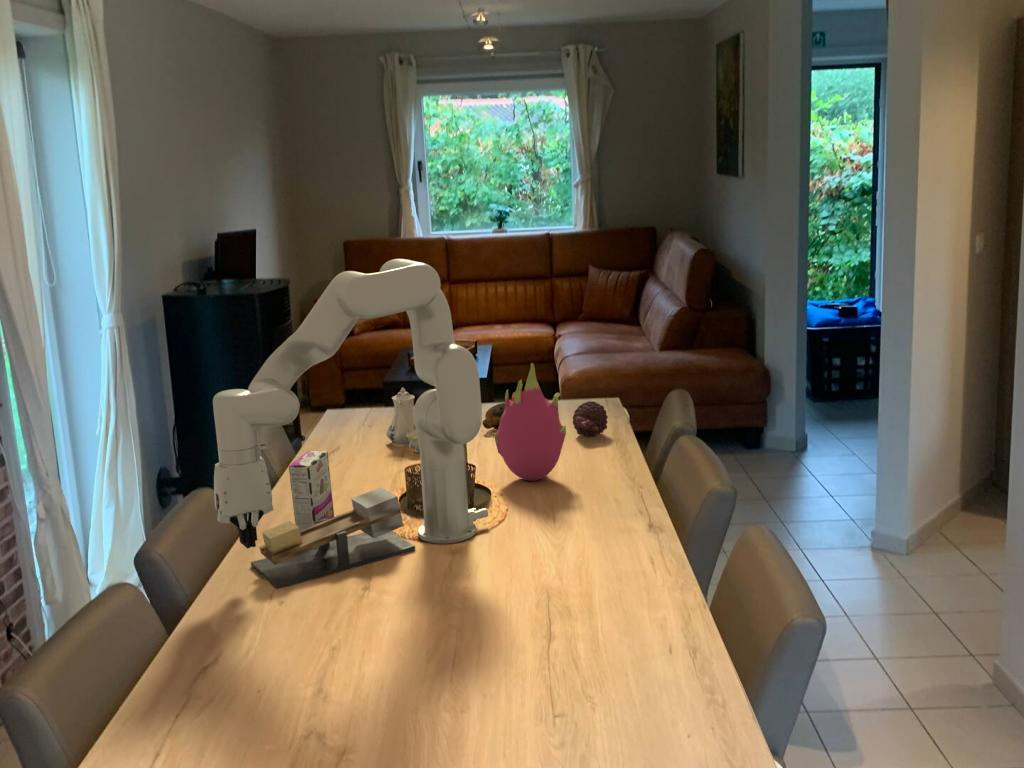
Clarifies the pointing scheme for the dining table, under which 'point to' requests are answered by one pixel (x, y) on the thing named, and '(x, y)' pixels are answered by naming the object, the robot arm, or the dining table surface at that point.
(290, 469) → the candy bar box
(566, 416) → the dining table surface
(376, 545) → the stand
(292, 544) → the brass block
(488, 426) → the decorative turtle
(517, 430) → the pink dragon fruit
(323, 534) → the beam
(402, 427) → the chinaware
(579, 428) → the pine cone
